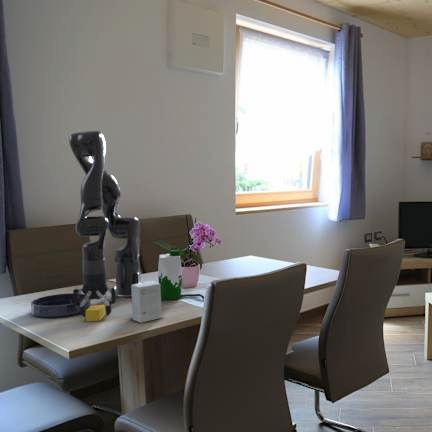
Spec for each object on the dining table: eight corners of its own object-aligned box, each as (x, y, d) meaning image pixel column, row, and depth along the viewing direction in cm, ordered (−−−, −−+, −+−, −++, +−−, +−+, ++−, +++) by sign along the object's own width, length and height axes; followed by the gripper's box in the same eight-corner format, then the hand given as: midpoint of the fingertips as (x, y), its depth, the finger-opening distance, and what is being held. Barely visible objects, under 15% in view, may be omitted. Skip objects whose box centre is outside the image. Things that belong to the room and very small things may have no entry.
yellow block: (91, 316, 202) (91, 305, 202) (105, 315, 203) (104, 304, 203) (85, 321, 196) (85, 310, 195) (100, 320, 197) (99, 310, 196)
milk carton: (182, 299, 228) (181, 251, 226) (159, 301, 224) (157, 253, 222) (181, 294, 236) (180, 248, 234) (158, 296, 232) (157, 249, 230)
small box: (153, 314, 205) (152, 280, 204) (162, 318, 201) (161, 283, 200) (131, 319, 199) (130, 284, 198) (140, 323, 195) (139, 287, 194)
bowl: (96, 303, 219) (95, 292, 219) (81, 317, 201) (81, 305, 200) (42, 305, 215) (42, 294, 214) (22, 319, 196) (22, 307, 196)
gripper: (118, 268, 203) (119, 312, 205) (75, 269, 200) (77, 313, 202) (113, 272, 196) (115, 317, 198) (69, 274, 193) (71, 319, 194)
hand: (96, 315), depth 200 cm, fingers open, 7 cm apart
